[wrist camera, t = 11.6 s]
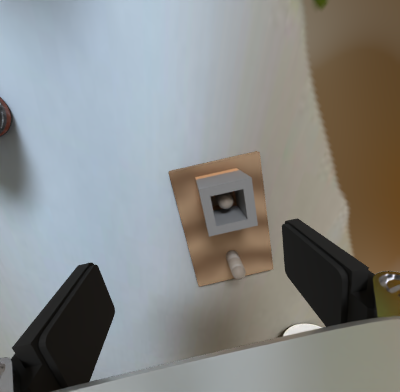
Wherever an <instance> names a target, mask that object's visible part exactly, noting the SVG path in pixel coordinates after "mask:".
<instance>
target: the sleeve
mask: <svg viewBox="0 0 400 392" xmlns="http://www.w3.org/2000/svg"><path fill="white" fill-rule="evenodd" d="M195 178H196V183H197V188H198V192H199V197H200V201H201V206H202V210H203V215H204V219H205V223H206V227H207V230H208V234H209V237H210V236H214V235H218V234H223V233H227V232H232V231H236V230H240V229H245V228H249V227H253V226H258V222H257V215H256V207H255V200H254V192H253V185H252V177H250V176H248V175H247V174H245V173H244V172H242V171H240V170H239V169H237V168H235V169H230V170H226V171H221V172H217V173H212V174H208V175H203V176H199V177H195ZM232 191H233V197H234V202H233V205H232V206H231V207H230V208H228V209H223V208H221V207H220V206H219V205H217V206H213V207H212V202H211V197H210V196H214V195H219V194H223V193H228V192H232Z"/></svg>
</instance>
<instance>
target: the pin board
mask: <svg viewBox="0 0 400 392" xmlns="http://www.w3.org/2000/svg"><path fill="white" fill-rule="evenodd" d="M235 168H237V169H239V170H240V171H242V172H244V173H245V174H247V175H248V176H250V177H252V185H253V192H254V200H255V207H256V215H257V222H258V226H253V227H249V228H245V229H240V230H236V231H232V232H227V233H223V234H218V235H214V236H210V237H209V234H208V230H207V227H206V223H205V219H204V215H203V210H202V206H201V201H200V197H199V192H198V188H197V183H196V178H195V177H199V176H203V175H208V174H212V173H217V172H221V171H226V170H230V169H235ZM169 176H170V180H171V184H172V187H173V191H174V195H175V199H176V202H177V206H178V210H179V214H180V218H181V221H182V225H183V229H184V233H185V236H186V240H187V244H188V248H189V251H190V255H191V259H192V263H193V266H194V270H195V274H196V278H197V282H198V285H199V286H204V285H208V284H212V283H216V282H221V281H225V280H229V279H233V278H236V279H242V278H243V277H244V276H246V275H250V274H255V273H259V272H263V271H267V270H272V269H273V262H272V254H271V245H270V237H269V228H268V220H267V211H266V203H265V194H264V186H263V177H262V169H261V161H260V152H257V151H256V152H251V153H247V154H242V155H238V156H233V157H229V158H225V159H220V160H216V161H211V162H207V163H203V164H198V165H194V166H189V167H185V168H180V169H176V170H172V171H169ZM210 197H211V202H212V207H213V206H217V205H219V206H220V207H221V208H223V209H228V208H230V207H231V206H232V205H233V202H234V197H233V191H232V192H228V193H223V194H219V195H214V196H210Z"/></svg>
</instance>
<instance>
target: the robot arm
mask: <svg viewBox="0 0 400 392" xmlns="http://www.w3.org/2000/svg"><path fill="white" fill-rule="evenodd" d="M282 235H283V249H284V264H285V272H286V274H287V276H288V278H289V279H290V280H291V282H292V283H293V284H294V285H295V287H296V288H297V289H298V291H299V292H300V293H301V295H302V296H303V297H304V298H305V300H306V301H307V302H308V304H309V305H310V306H311V308H312V309H313V310H314V311H315V313H316V314H317V315H318V317H319V318H320V319H321V321H322V322H323V323H324V324H325V326H326V327H324V328H319V329H314V330H309V331H305V332H300V333H296V334H292V335H287V336H283V337H278V338H274V339H270V340H265V341H261V342H256V343H252V344H248V345H243V346H239V347H234V348H230V349H226V350H222V351H217V352H213V353H209V354H204V355H200V356H196V357H192V358H187V359H183V360H179V361H175V362H170V363H166V364H162V365H158V366H153V367H149V368H145V369H141V370H137V371H133V372H129V373H124V374H120V375H116V376H112V377H108V378H104V379H99V380H95V381H91V382H89V381H90V379H91V376H92V373H93V371H94V368H95V365H96V363H97V360H98V357H99V355H100V352H101V349H102V347H103V344H104V341H105V339H106V336H107V333H108V331H109V328H110V325H111V323H112V320H113V317H114V314H115V308H114V305H113V303H112V300H111V298H110V295H109V293H108V290H107V288H106V285H105V283H104V280H103V278H102V275H101V273H100V270H99V268H98V266H97V265H94V264H93V263H87V264H82V265H79V266H77V268H76V269H75V270H74V271H73V273H72V274H71V275H70V276H69V278H68V279H67V280H66V281H65V283H64V284H63V285H62V286H61V288H60V289H59V290H58V291H57V292H56V294H55V295H54V296H53V297H52V299H51V300H50V301H49V302H48V304H47V305H46V306H45V307H44V309H43V310H42V311H41V312H40V314H39V315H38V316H37V317H36V319H35V320H34V321H33V322H32V324H31V325H30V326H29V327H28V329H27V330H26V331H25V332H24V334H23V335H22V336H21V337H20V339H19V340H18V341H17V342H16V344H15V345H14V346H13V347H12V349H13V350H14V352H15V355H14V356H13V357H12V359H10V358H7V357H4V358H0V392H400V272H394V271H382V272H379V273H376V274H373V273H371V272H370V271H369V270H368V267H367V266H366V265H364V264H363V263H361V262H360V261H358V260H357V259H356V258H354V257H353V256H351V255H350V254H348V253H347V252H345V251H344V250H343V249H341V248H340V247H338V246H337V245H335V244H334V243H332V242H331V241H329V240H328V239H327V238H325V237H324V236H322V235H321V234H319V233H318V232H316V231H315V230H314V229H312V228H311V227H309V226H308V225H306V224H305V223H303V222H302V221H301V220H299V219H293V220H288V221H285V224H283V225H282Z"/></svg>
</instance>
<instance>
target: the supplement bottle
mask: <svg viewBox="0 0 400 392" xmlns="http://www.w3.org/2000/svg"><path fill="white" fill-rule="evenodd" d="M10 124H11V115H10V111H9V109H8V106H7V105H6V103H5V102H4V101H3V100H2V98H1V97H0V136H1V135H3V134H5V133H6V132H7V131H8V130H9V127H10Z"/></svg>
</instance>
